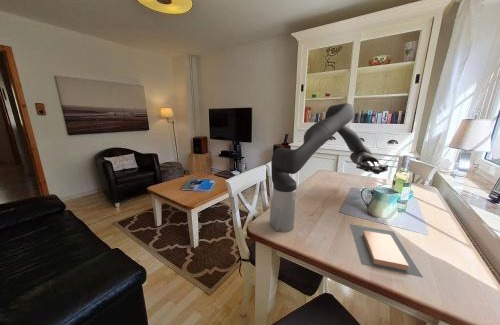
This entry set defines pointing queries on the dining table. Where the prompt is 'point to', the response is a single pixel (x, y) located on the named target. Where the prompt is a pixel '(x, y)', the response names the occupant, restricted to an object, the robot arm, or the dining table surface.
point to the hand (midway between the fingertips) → (377, 171)
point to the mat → (366, 256)
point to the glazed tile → (384, 250)
